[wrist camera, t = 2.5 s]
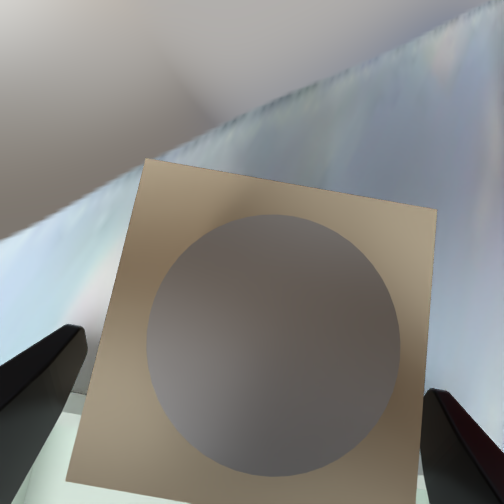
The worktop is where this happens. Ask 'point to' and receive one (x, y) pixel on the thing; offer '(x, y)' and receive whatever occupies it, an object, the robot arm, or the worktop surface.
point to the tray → (84, 496)
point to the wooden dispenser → (261, 345)
